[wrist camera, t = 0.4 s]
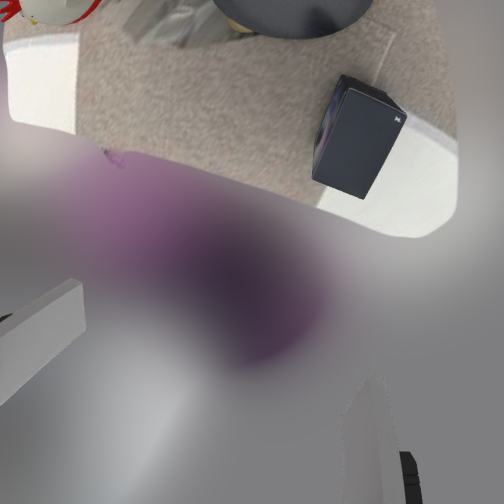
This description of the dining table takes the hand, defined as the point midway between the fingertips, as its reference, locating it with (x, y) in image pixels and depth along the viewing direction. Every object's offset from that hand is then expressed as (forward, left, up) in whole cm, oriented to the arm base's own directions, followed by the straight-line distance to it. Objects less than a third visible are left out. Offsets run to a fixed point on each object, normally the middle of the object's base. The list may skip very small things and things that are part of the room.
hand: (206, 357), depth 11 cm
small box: (+2, +8, -32) cm, 33 cm away
